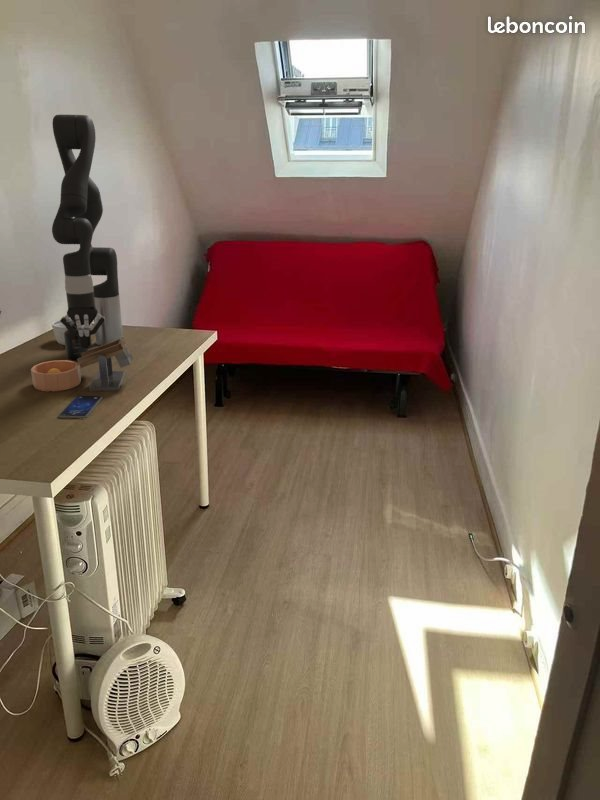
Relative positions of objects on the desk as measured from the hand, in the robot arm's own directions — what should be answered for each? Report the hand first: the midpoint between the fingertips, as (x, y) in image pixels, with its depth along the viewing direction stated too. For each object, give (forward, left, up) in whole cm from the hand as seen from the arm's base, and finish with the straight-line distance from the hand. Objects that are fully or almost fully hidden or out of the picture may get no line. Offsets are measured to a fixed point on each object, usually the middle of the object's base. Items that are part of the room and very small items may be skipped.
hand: (86, 347), depth 179 cm
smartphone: (+27, +2, -9) cm, 29 cm away
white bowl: (-37, -12, -9) cm, 40 cm away
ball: (+8, -8, -6) cm, 13 cm away
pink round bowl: (+8, -8, -8) cm, 14 cm away
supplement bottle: (-17, -7, -9) cm, 20 cm away
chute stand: (+8, +6, -8) cm, 13 cm away
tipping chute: (+4, +8, -4) cm, 10 cm away
